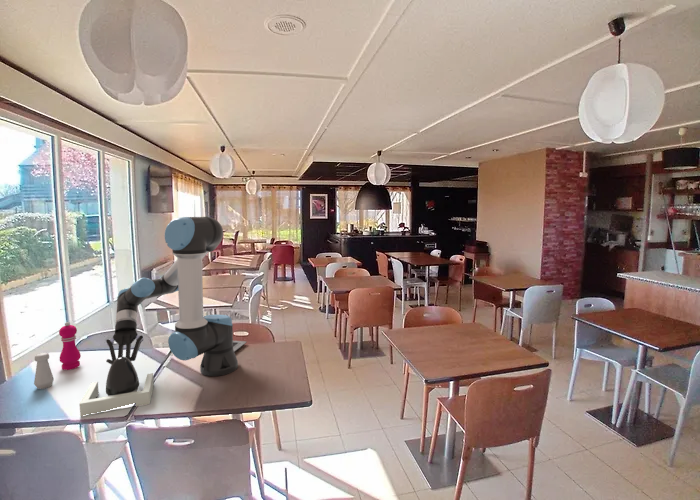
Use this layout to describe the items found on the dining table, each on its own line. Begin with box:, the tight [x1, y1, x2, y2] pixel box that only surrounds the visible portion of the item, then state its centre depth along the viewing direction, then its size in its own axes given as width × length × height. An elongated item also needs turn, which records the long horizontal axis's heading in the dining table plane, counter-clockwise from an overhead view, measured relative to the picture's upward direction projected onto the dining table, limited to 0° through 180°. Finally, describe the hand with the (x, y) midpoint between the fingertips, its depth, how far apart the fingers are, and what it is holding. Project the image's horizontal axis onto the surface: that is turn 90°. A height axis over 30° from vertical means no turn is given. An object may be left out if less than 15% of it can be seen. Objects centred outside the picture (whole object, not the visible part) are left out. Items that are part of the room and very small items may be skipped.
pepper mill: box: [58, 321, 82, 371], centre depth 156 cm, size 7×7×20 cm
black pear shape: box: [105, 356, 140, 396], centre depth 131 cm, size 10×10×15 cm
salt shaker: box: [33, 352, 54, 390], centre depth 139 cm, size 6×6×13 cm
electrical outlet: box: [233, 340, 247, 353], centre depth 178 cm, size 13×10×2 cm
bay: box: [79, 372, 155, 417], centre depth 131 cm, size 16×20×4 cm
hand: (122, 379), depth 137 cm, fingers closed
